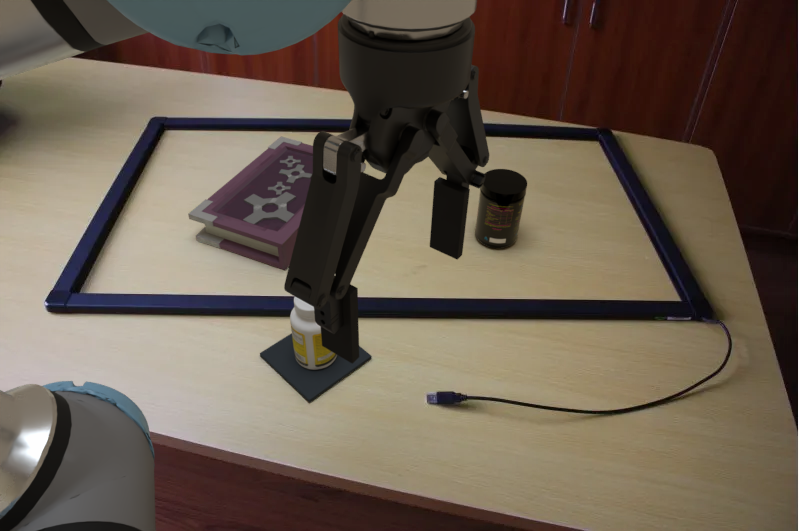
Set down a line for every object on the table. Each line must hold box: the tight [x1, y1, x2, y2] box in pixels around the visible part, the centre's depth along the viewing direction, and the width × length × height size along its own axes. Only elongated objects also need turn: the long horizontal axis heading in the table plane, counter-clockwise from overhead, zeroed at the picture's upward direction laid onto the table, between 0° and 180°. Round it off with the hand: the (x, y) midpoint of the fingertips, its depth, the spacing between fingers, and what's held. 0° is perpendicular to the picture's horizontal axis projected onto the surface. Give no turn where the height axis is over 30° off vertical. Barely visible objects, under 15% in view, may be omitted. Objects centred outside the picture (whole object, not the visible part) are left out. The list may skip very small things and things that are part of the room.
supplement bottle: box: [289, 296, 337, 370], centre depth 78 cm, size 5×5×10 cm
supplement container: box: [474, 168, 528, 250], centre depth 97 cm, size 7×7×10 cm
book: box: [187, 135, 313, 271], centre depth 103 cm, size 25×16×5 cm, turn 156°
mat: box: [259, 332, 372, 404], centre depth 81 cm, size 10×10×1 cm
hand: (397, 297), depth 49 cm, fingers open, 13 cm apart
